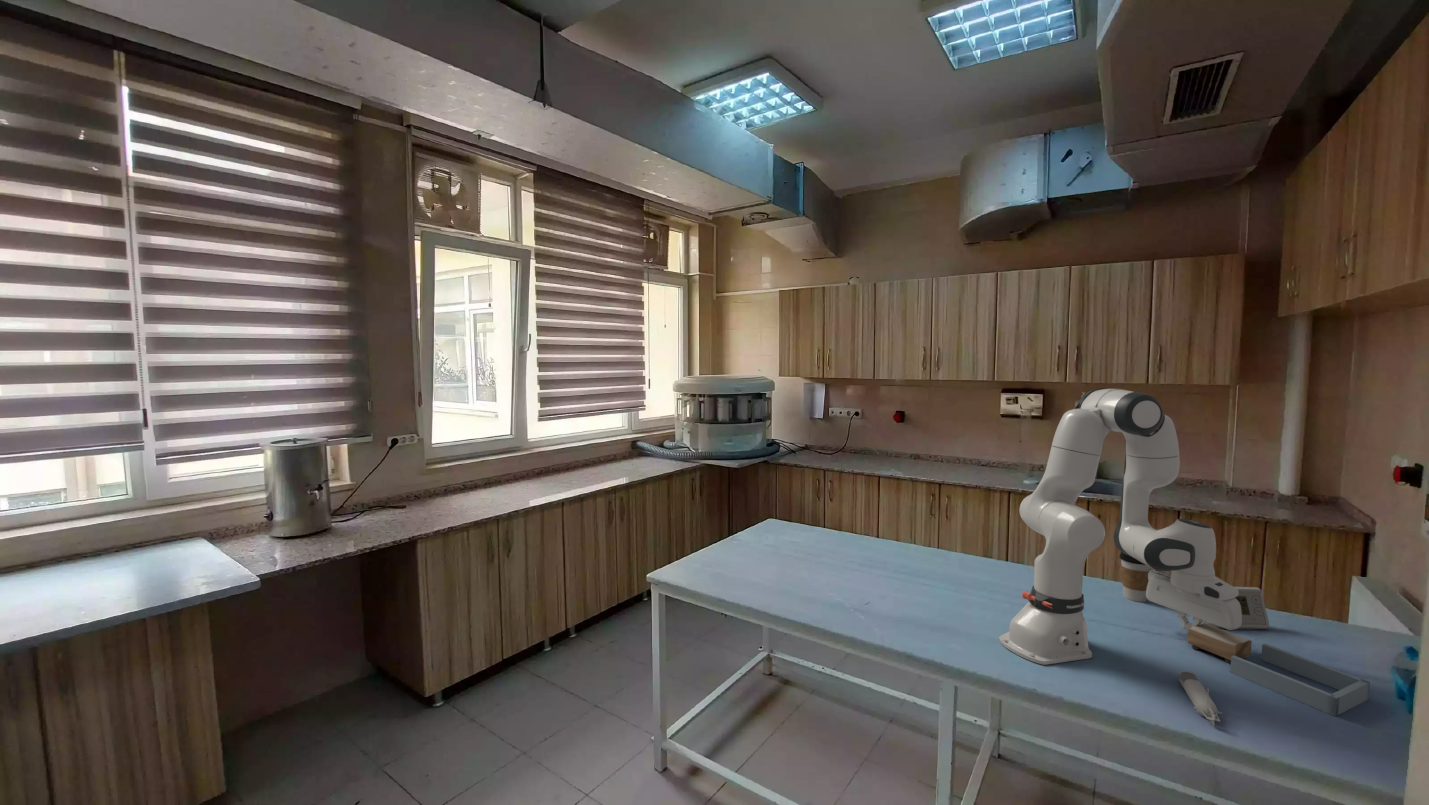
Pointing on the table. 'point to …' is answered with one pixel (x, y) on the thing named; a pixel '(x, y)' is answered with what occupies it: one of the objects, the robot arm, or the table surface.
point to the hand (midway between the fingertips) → (1189, 630)
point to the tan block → (1219, 641)
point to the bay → (1333, 704)
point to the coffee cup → (1134, 578)
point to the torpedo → (1199, 696)
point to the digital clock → (1251, 609)
